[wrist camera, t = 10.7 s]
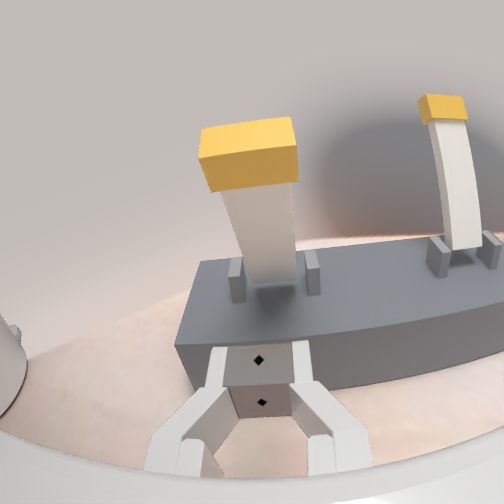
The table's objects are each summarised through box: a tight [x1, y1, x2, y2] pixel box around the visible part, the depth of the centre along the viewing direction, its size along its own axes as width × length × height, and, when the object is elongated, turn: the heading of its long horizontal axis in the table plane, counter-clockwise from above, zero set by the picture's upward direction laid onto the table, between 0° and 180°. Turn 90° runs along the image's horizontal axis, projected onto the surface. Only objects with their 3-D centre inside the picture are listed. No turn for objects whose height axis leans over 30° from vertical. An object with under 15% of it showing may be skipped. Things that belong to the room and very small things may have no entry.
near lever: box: [198, 117, 299, 284], centre depth 17 cm, size 4×2×12 cm, turn 88°
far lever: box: [418, 94, 482, 250], centre depth 20 cm, size 4×2×12 cm
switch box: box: [174, 230, 504, 392], centre depth 23 cm, size 28×10×8 cm, turn 88°
